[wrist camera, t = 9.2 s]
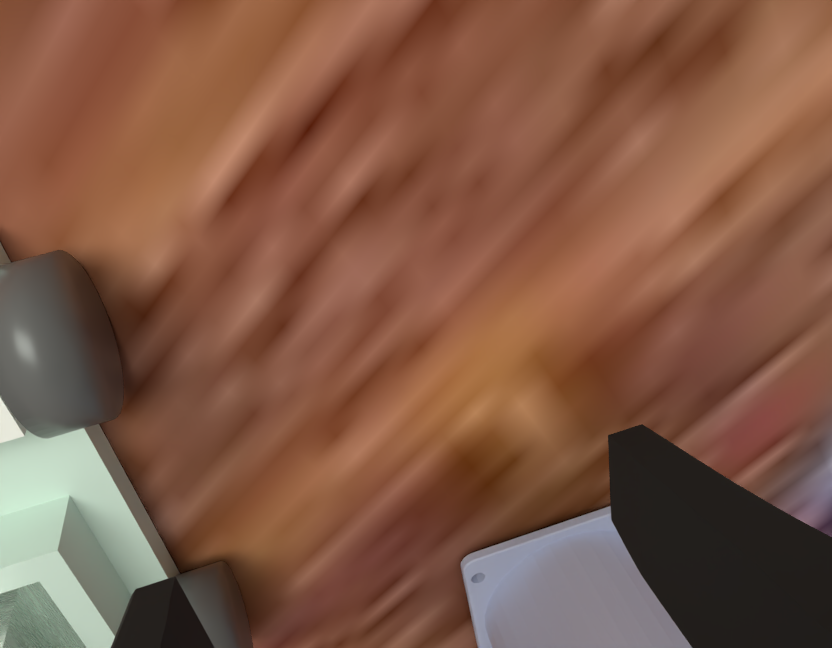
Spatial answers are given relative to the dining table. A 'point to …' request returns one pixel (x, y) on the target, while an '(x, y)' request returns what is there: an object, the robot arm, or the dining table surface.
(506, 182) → the dining table surface
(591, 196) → the dining table surface
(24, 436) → the chassis
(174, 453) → the dining table surface
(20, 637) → the grey boxy piece
